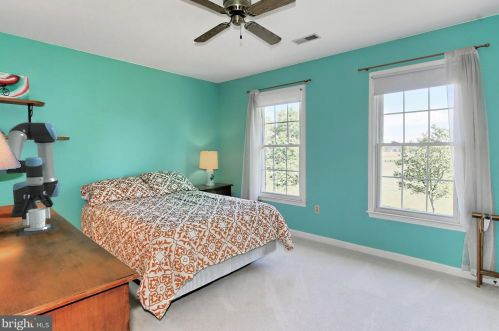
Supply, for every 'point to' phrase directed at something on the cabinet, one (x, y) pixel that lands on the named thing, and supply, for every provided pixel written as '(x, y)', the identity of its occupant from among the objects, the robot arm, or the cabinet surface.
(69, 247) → the cabinet surface
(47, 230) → the duct collar
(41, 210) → the white cup
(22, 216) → the robot arm
